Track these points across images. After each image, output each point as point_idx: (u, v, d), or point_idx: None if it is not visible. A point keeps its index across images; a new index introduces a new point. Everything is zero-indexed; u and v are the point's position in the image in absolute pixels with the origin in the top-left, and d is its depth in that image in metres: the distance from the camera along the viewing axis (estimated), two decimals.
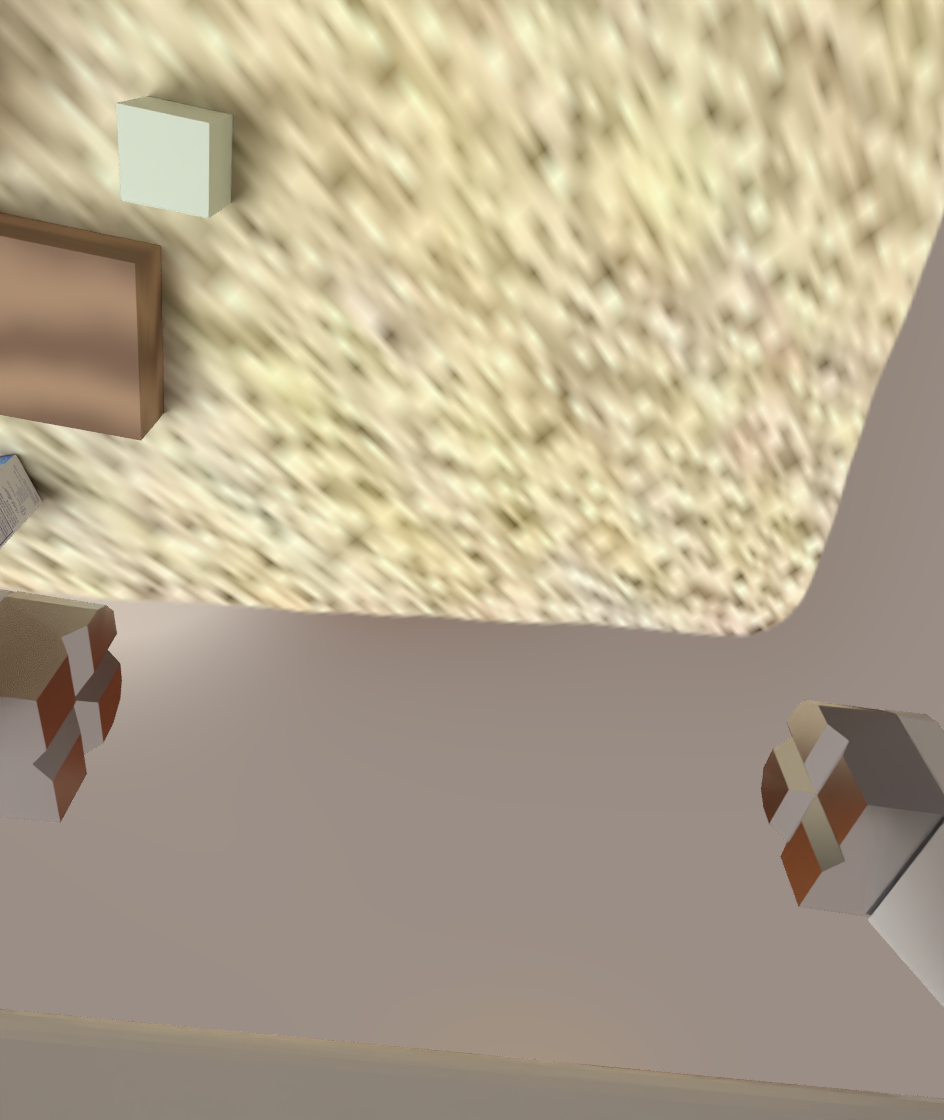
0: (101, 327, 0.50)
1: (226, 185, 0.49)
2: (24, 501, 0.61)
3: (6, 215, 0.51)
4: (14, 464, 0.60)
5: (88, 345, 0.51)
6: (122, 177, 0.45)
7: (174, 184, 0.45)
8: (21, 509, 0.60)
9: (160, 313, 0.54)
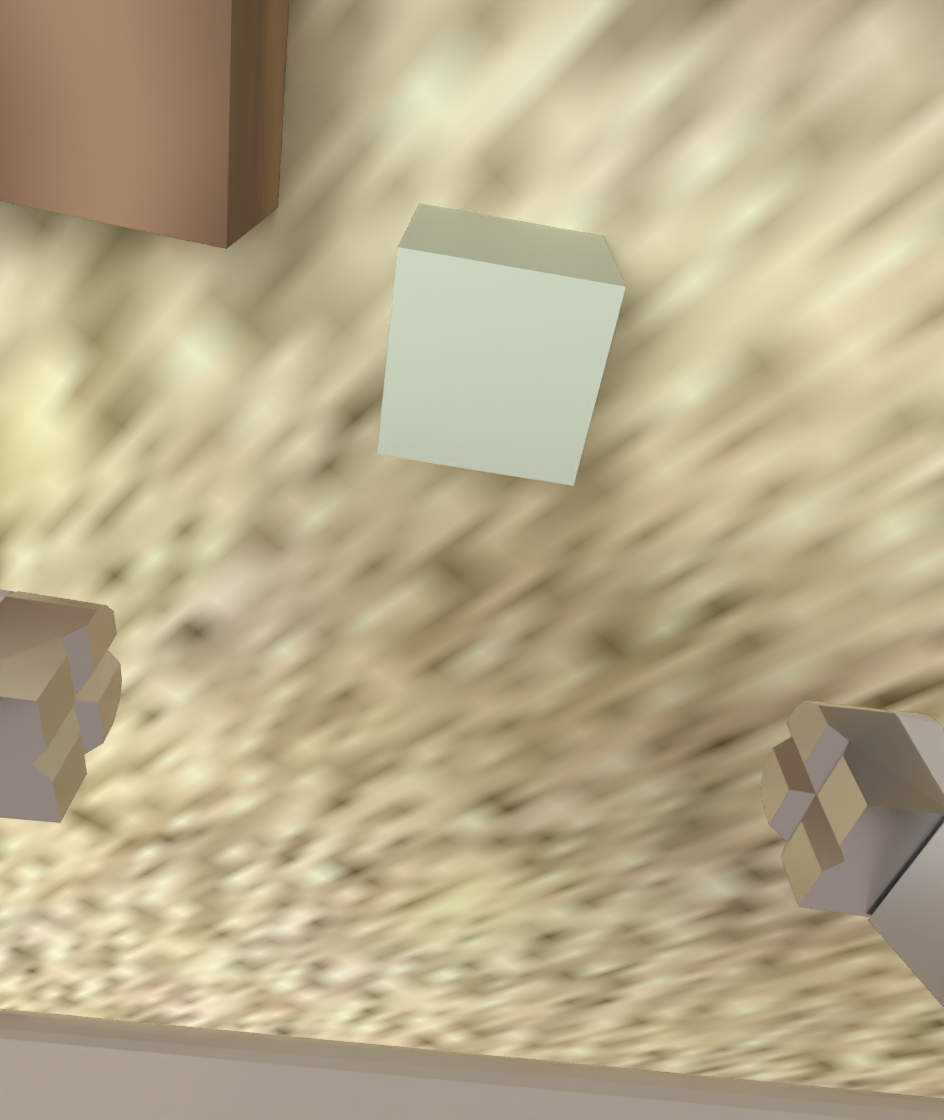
0: (3, 86, 0.16)
1: None
2: None
3: None
4: None
5: None
6: (454, 263, 0.17)
7: (444, 391, 0.19)
8: None
9: None
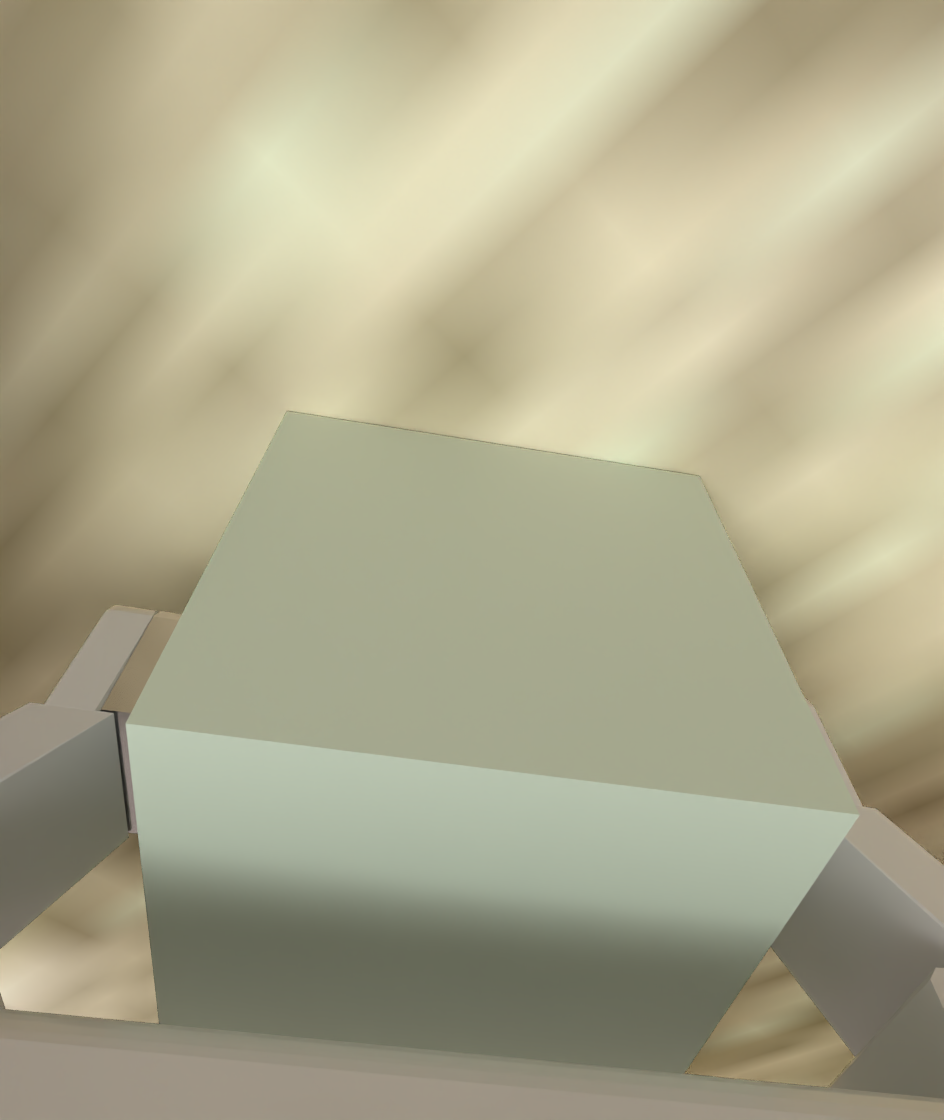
0: None
1: None
2: None
3: None
4: None
5: None
6: (317, 761, 0.05)
7: (322, 991, 0.07)
8: None
9: None
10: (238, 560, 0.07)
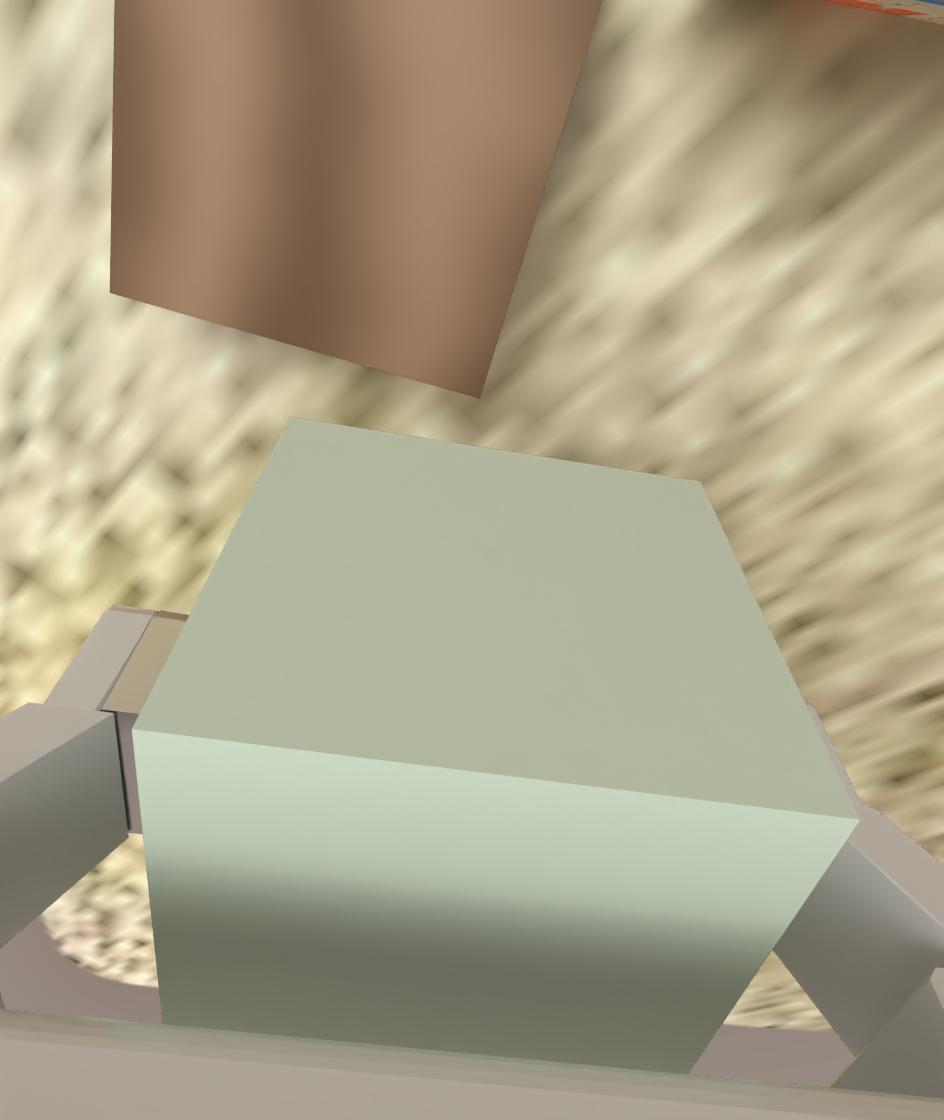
0: (359, 293, 0.24)
1: None
2: None
3: None
4: None
5: (321, 250, 0.24)
6: (321, 766, 0.05)
7: (326, 995, 0.07)
8: None
9: None
10: (242, 566, 0.07)
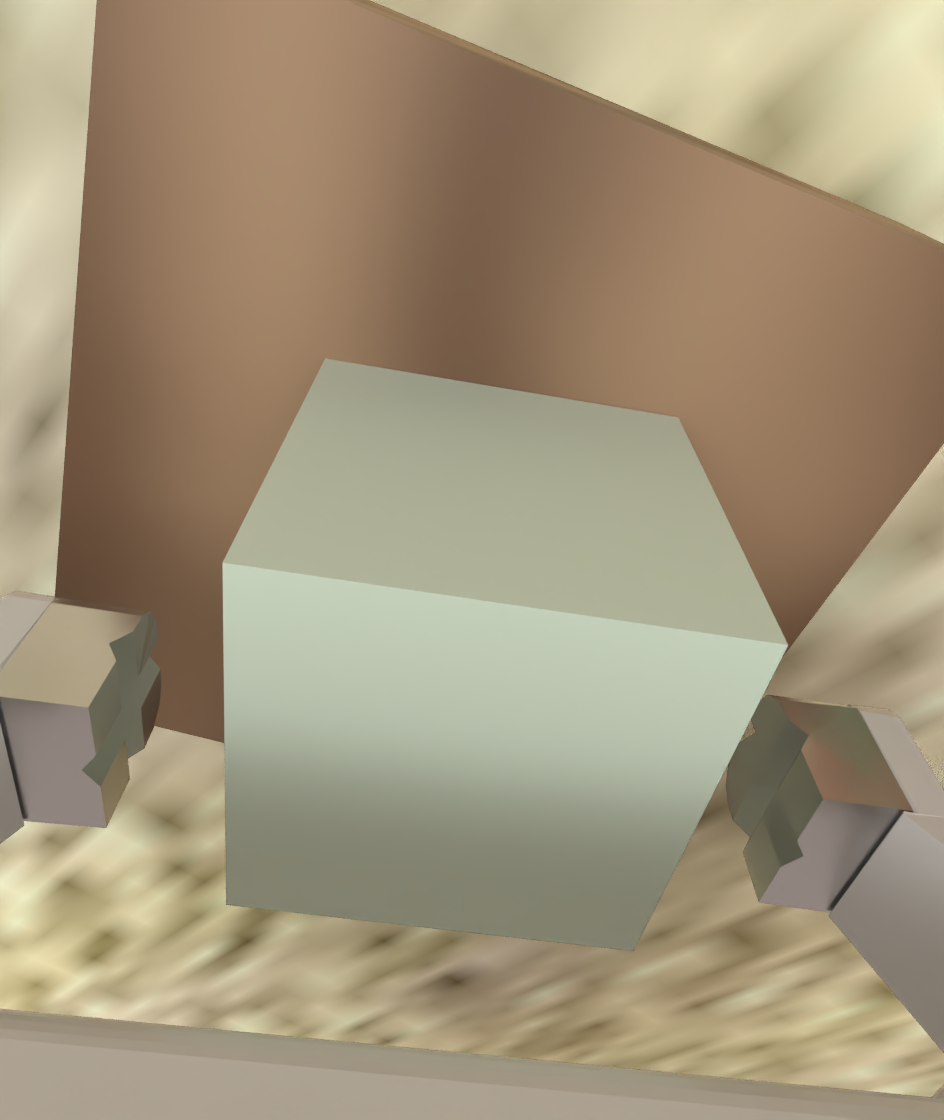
0: None
1: None
2: None
3: None
4: None
5: None
6: (366, 595, 0.07)
7: (361, 817, 0.09)
8: None
9: None
10: (295, 462, 0.08)
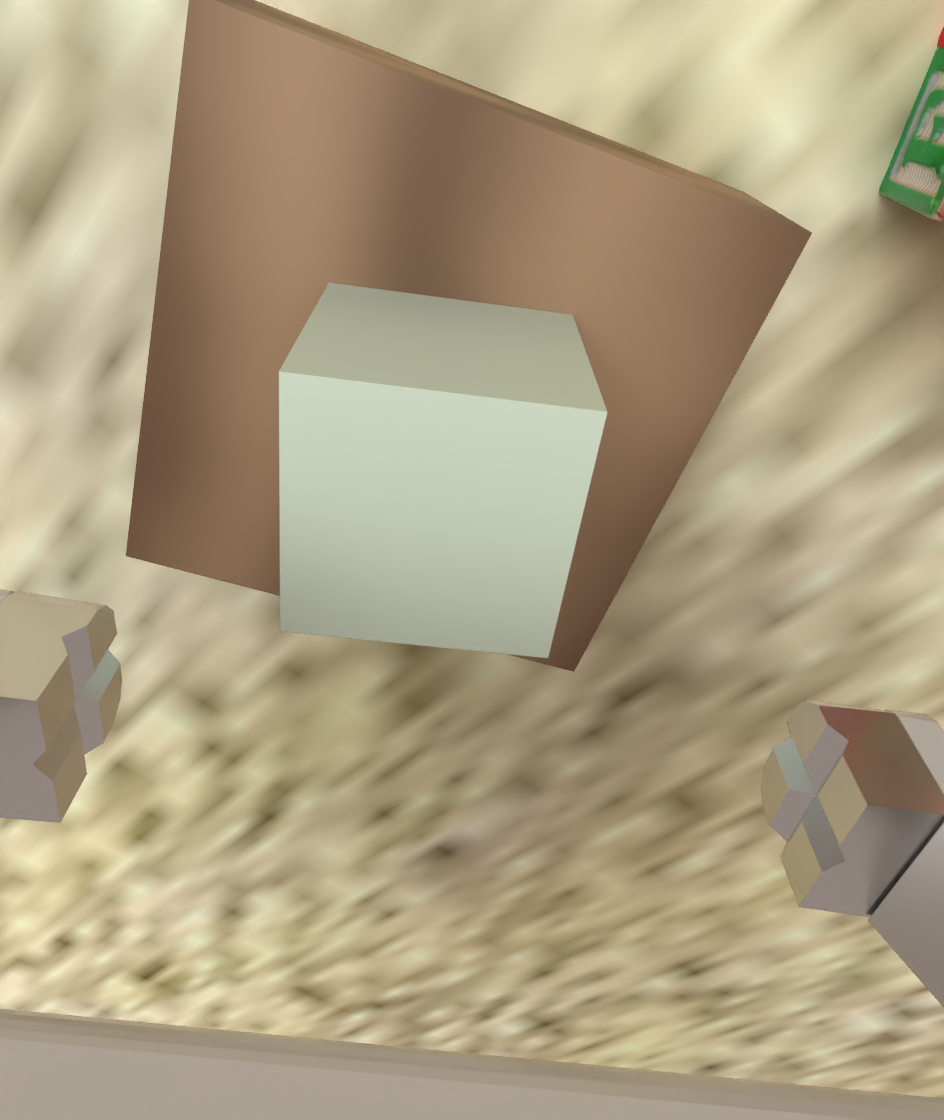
0: None
1: None
2: None
3: None
4: None
5: None
6: (362, 389, 0.12)
7: (365, 553, 0.14)
8: None
9: None
10: (315, 332, 0.13)
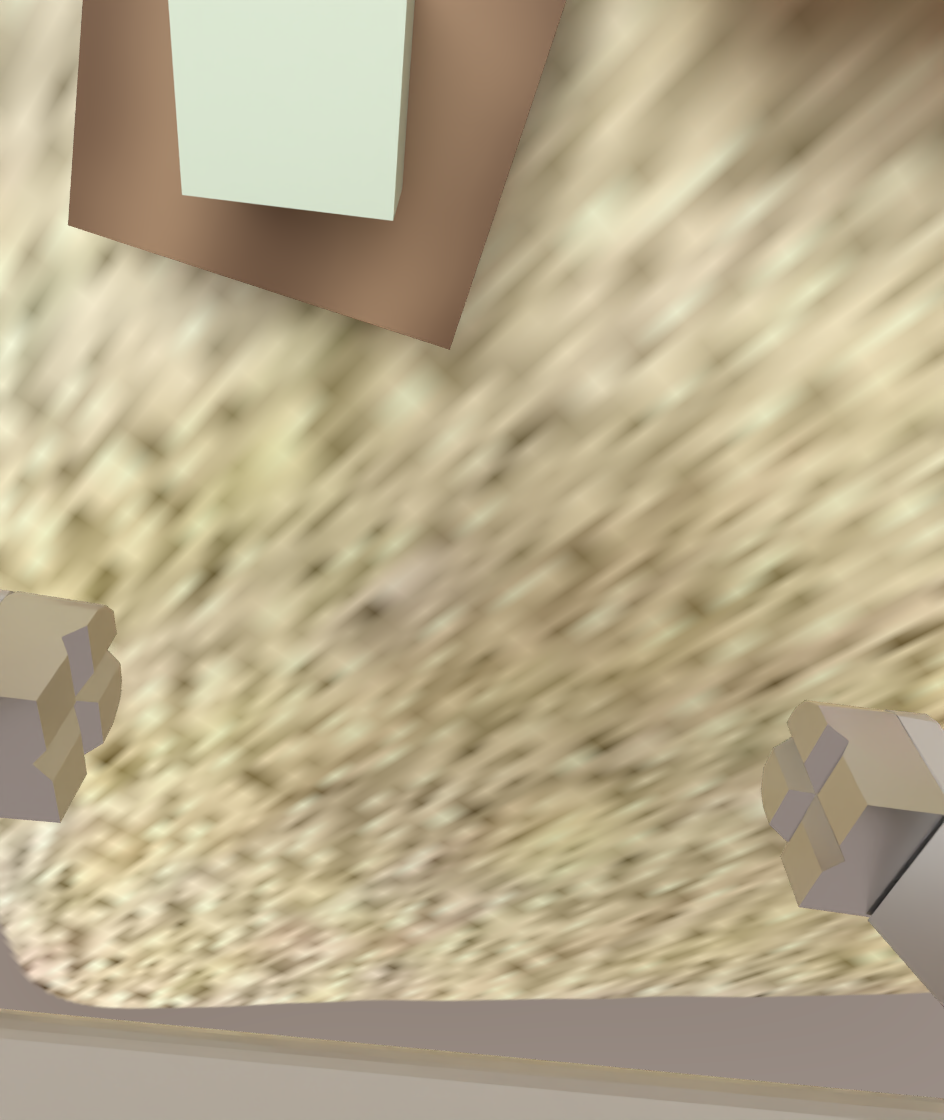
0: (332, 235, 0.24)
1: None
2: None
3: None
4: None
5: None
6: None
7: (241, 110, 0.18)
8: None
9: None
10: None
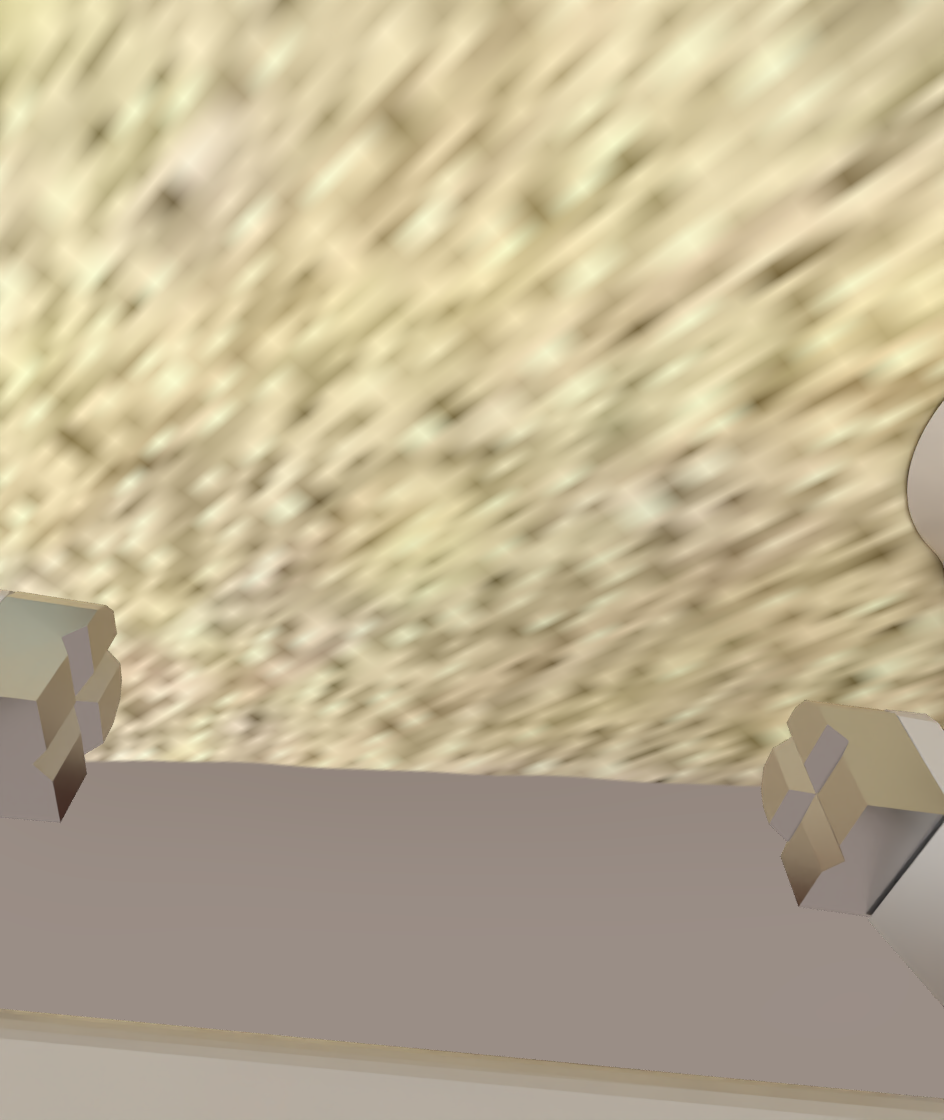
0: None
1: None
2: None
3: None
4: None
5: None
6: None
7: None
8: None
9: None
10: None
